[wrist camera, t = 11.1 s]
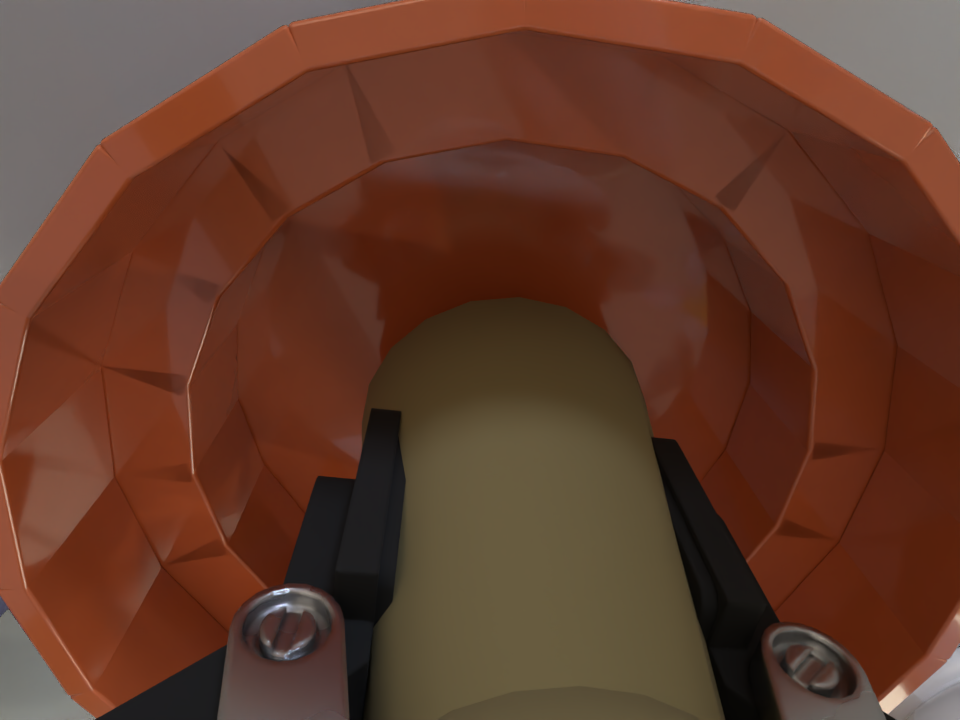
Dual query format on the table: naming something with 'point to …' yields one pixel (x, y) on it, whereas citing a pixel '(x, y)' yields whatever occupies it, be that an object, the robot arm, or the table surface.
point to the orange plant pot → (483, 276)
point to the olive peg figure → (530, 531)
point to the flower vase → (935, 695)
